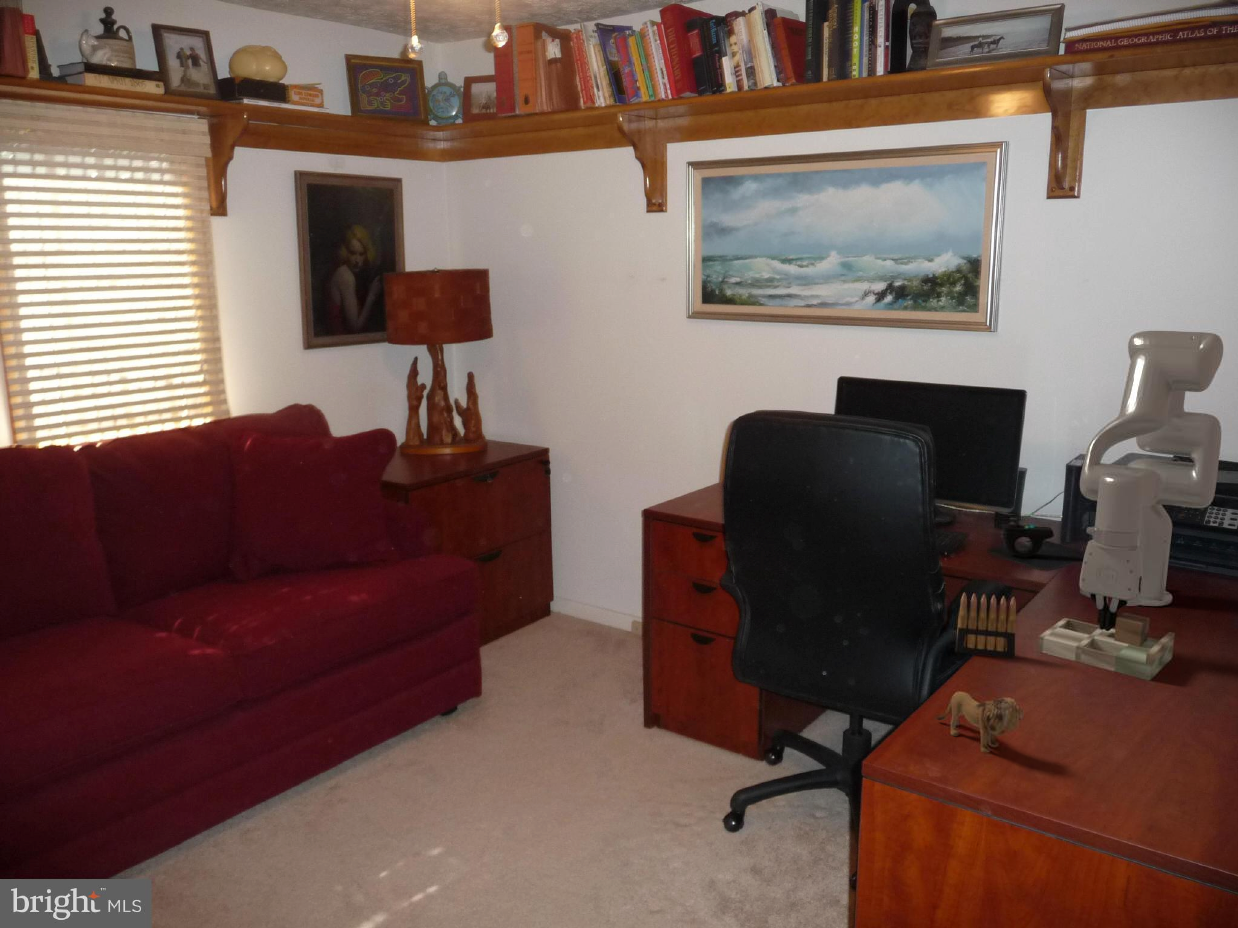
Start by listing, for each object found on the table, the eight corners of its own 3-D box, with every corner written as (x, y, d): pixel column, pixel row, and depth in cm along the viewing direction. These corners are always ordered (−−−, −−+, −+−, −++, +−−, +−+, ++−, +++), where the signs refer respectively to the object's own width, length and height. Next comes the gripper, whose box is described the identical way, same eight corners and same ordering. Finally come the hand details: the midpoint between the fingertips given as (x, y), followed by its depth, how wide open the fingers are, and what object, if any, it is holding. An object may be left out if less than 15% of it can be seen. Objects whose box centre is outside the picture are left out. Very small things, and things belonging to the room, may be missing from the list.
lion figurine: (1025, 753, 149) (1030, 699, 147) (1005, 763, 146) (1009, 708, 144) (945, 717, 161) (949, 666, 159) (925, 726, 158) (928, 674, 156)
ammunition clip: (1013, 654, 186) (1018, 595, 184) (1014, 658, 185) (1019, 598, 182) (955, 648, 189) (959, 590, 187) (955, 652, 188) (959, 593, 185)
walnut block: (1122, 634, 188) (1124, 612, 187) (1147, 640, 185) (1149, 618, 184) (1114, 640, 185) (1116, 618, 184) (1139, 646, 182) (1141, 624, 181)
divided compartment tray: (1063, 631, 198) (1065, 608, 197) (1171, 657, 184) (1174, 633, 183) (1037, 651, 188) (1039, 626, 187) (1149, 680, 174) (1152, 654, 173)
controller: (998, 552, 252) (1001, 515, 250) (1049, 555, 249) (1053, 518, 247) (1001, 557, 248) (1004, 519, 246) (1052, 560, 245) (1056, 522, 243)
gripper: (1067, 533, 187) (1059, 623, 191) (1152, 549, 177) (1141, 643, 180) (1082, 526, 192) (1073, 614, 196) (1164, 541, 182) (1154, 633, 186)
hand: (1106, 628), depth 188 cm, fingers closed
